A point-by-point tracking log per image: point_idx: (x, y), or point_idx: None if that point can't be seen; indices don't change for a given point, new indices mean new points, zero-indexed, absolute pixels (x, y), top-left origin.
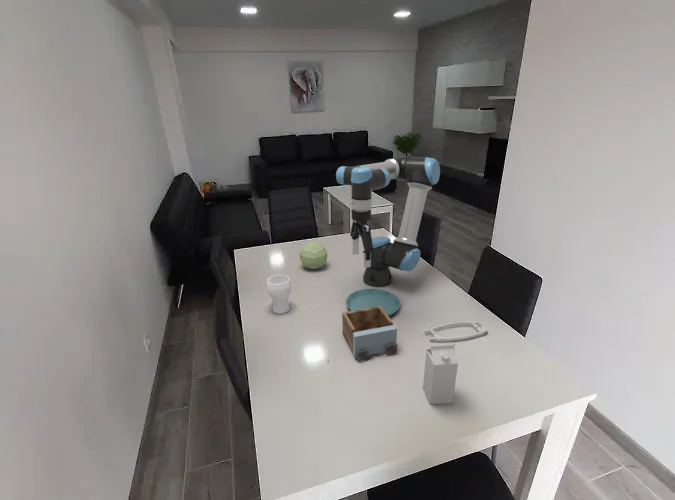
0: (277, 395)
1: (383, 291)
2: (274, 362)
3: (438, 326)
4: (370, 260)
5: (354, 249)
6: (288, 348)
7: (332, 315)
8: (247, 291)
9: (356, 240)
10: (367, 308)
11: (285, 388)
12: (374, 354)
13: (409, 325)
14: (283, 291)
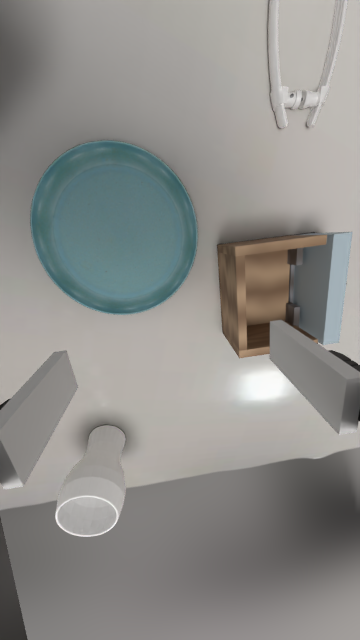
0: (333, 430)
1: (46, 179)
2: (266, 438)
3: (278, 63)
4: (306, 337)
5: (60, 400)
6: (239, 422)
7: (147, 344)
8: (26, 499)
9: (13, 449)
10: (237, 289)
11: (324, 422)
12: None
13: (228, 158)
14: (121, 484)
